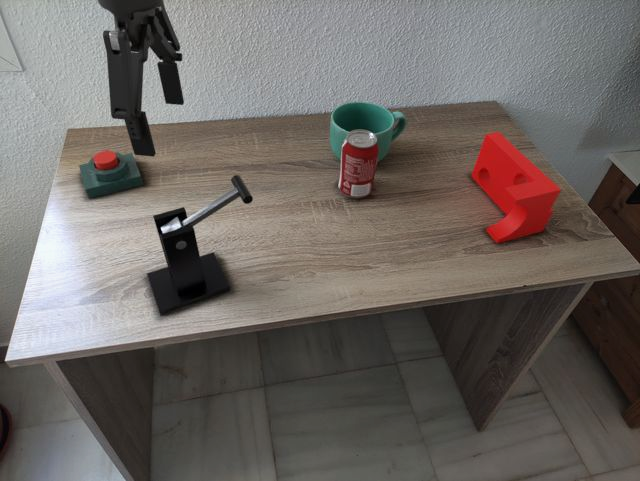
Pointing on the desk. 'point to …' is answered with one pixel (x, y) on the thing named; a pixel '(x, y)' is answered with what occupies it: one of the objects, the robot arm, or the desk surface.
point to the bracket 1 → (184, 268)
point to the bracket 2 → (514, 189)
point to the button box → (110, 176)
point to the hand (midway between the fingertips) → (161, 127)
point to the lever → (212, 206)
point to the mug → (365, 125)
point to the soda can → (358, 163)
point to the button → (106, 160)
